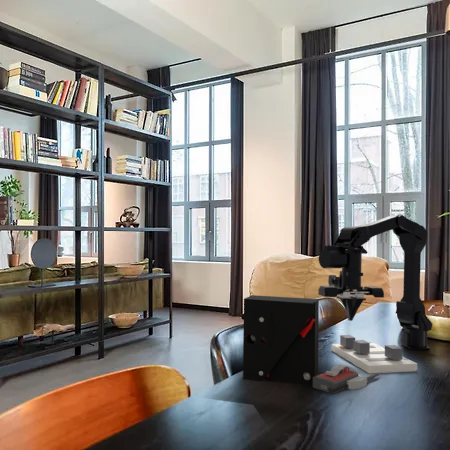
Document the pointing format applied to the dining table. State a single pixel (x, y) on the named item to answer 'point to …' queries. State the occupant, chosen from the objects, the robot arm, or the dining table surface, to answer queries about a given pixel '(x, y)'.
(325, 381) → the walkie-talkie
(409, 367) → the switch board
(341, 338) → the grey plastic block
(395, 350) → the grey squarish block
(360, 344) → the grey block
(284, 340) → the electrical component
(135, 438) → the dining table surface
